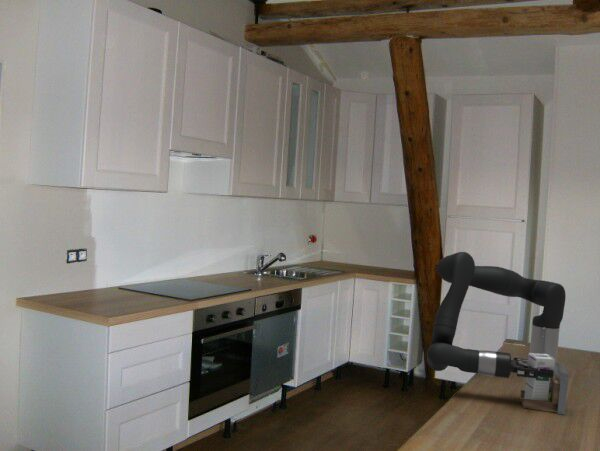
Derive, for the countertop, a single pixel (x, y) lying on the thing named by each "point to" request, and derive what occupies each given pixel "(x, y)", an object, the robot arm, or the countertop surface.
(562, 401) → the plate
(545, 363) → the syrup box
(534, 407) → the cradle
